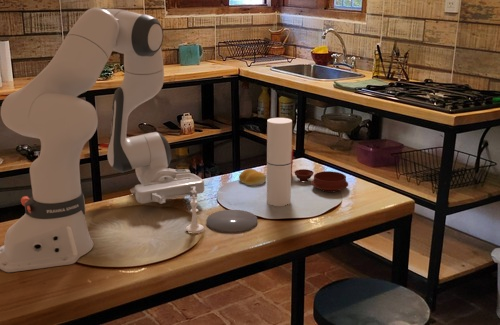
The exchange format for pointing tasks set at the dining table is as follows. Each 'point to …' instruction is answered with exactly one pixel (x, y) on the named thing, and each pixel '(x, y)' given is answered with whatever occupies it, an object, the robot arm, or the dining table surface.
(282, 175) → the cylindrical container
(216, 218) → the charcoal plate
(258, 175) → the bread roll
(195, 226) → the chess piece
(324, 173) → the pottery
